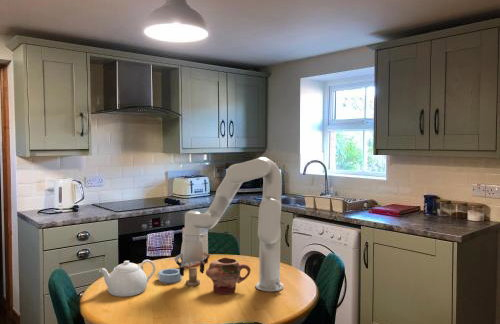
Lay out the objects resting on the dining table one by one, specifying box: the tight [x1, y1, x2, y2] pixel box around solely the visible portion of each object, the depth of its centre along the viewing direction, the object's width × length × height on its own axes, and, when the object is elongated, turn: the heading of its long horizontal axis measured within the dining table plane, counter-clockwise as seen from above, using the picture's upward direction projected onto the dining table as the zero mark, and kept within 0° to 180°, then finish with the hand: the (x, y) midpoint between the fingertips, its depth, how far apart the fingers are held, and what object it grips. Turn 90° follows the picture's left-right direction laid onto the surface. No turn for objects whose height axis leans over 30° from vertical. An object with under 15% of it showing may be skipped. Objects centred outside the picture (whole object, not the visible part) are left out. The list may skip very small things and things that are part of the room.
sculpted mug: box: [205, 257, 251, 295], centre depth 189 cm, size 20×12×14 cm, turn 103°
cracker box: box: [181, 227, 209, 268], centre depth 231 cm, size 14×6×21 cm, turn 141°
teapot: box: [98, 259, 156, 298], centre depth 189 cm, size 19×18×14 cm
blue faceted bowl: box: [157, 267, 183, 285], centre depth 204 cm, size 11×11×4 cm
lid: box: [185, 267, 201, 287], centre depth 199 cm, size 6×6×7 cm
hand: (191, 273), depth 199 cm, fingers open, 9 cm apart
